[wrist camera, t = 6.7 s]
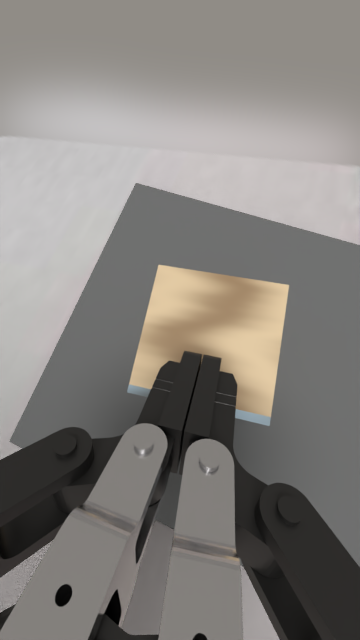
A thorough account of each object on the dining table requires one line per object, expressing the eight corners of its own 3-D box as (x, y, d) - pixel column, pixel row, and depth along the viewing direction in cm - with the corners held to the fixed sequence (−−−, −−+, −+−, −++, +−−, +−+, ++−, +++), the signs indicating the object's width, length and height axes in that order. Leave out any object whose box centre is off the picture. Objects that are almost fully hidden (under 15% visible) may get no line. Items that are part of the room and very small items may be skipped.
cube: (126, 392, 14) (158, 264, 15) (155, 389, 20) (175, 301, 22) (269, 425, 12) (289, 284, 14) (249, 411, 19) (263, 317, 21)
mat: (13, 440, 21) (9, 441, 21) (137, 186, 25) (136, 182, 25) (362, 626, 16) (366, 632, 16) (445, 272, 20) (450, 270, 20)
